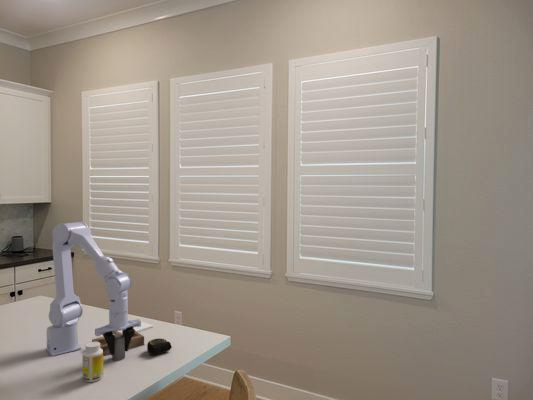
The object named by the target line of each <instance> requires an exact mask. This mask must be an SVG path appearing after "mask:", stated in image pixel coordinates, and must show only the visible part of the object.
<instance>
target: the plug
mask: <svg viewBox="0 0 533 400" xmlns="http://www.w3.org/2000/svg"><path fill="white" fill-rule="evenodd" d="M111 357H112V361H116V362H119V361H122V360H124V359H126V351H125V336H124V335H116V336H115V340H114V355H111Z"/></svg>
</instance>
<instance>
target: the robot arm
mask: <svg viewBox="0 0 533 400" xmlns="http://www.w3.org/2000/svg"><path fill="white" fill-rule="evenodd" d="M51 232H52V259H53V269H54V270H53V272H54V282H55V283H54V284H55V295H56V297H55V298H54V299H53V300H52V301H51V303H50V304H49V313H48V320H49V322H50V323H51V325H50V326H47V327H46V350H47V351H48V353H49V355H51V356H52V357H54V356H58V355H62V354H65V353H71V352H73V351H77V350H82V346H81V344H79V335H78V334H79V333H78V332H79V331H78V330H79V329H78V328H79V325H78V324H79V323H78V322H79V321H80V318H81V317H82V316H83V314H84V308H83V305H82V304H81V298H80V297H79V296H78V295H76V294H75V290H74V279H73V264H72V253H71V250H72V248H73V247H74V246H80V247H81V249H82V250H83V251H84V252H85V253H86V255H88V256H89V257H90V259H92V261H93V262H94V266H93V267H94V270H95V271H96V272H97V274H98V275H99V276H100V277H101V279H102V280H103V281H104V283H105V284H104V289H105V291H106V292H107V299H108V311H109V312H108V314H109V315H108V316H109V318H108V321H109V322H108V324H106V325H104V326H101V327H97V328H94V336H95V337H100V336H102V337H104V338H105V340H106V342H107V345H108V348H109V353H110V354H109V355H111V356H112V355H114V340H115V336H114V335H113V334H114V332H115V331H120V330H122V332H123V335H124V336H125V352H128V351H129V349H128V347H129V344H130V341H131V338H132V336H133V334H134V333H135V329H133V327H140V326H141V321H142V320H140V319H132V320H129V319H128V318H129V312H128V311H129V309H128V308H129V307H128V306H129V305H128V304H129V303H128V302H129V301H128V298H129V297H128V296H129V295H128V294H129V289H130V288H131V287H132V279H131V277H130V274H128V273H126V272H123V271H122V270H121V269H120V268H118V266H117V265H116V263H115V262H114V259H113V258H111V257H110V256H105V255H104V253H103V251H102V250H101V249H100V247H99V246H98V245H97V243H96V241H95V240H94V238H93V237H92V235H91V232H92V231H91V228H90V227H88V224H87V223H86V222H85V221H77V222H76V221H75V222H67V223H58V224H57V225H56V226H55V227H54V228H52V231H51Z"/></svg>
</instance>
